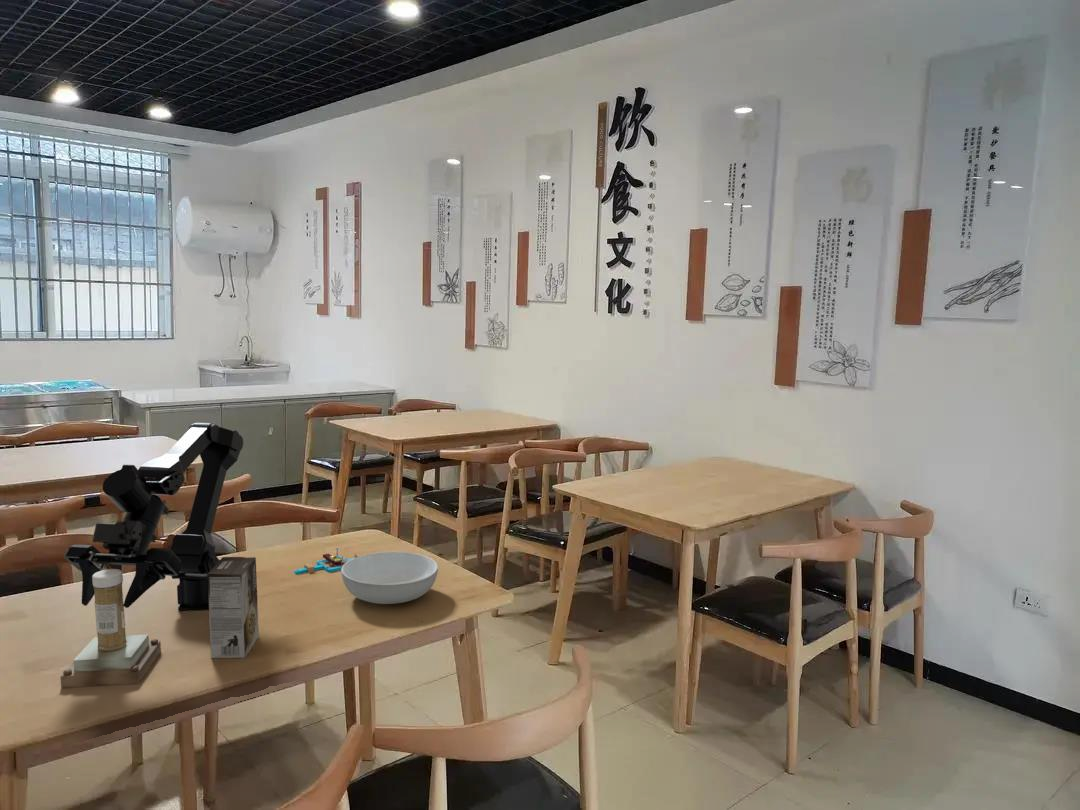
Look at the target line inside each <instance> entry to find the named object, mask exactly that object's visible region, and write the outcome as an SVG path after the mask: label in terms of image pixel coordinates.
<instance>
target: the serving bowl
mask: <svg viewBox="0 0 1080 810" xmlns="http://www.w3.org/2000/svg"><path fill="white" fill-rule="evenodd" d="M362 555H363V556H359V557H356V558H355V557H353V558H354V559H352V558H350V559H351V560H349V561H348V562H346V563H345V564H344V565H343V566H342V565H341V566H342V569H341V570H340V571H341V577H342V578H341V579H342V582H343V584H344V587H345V588H346V590H347V591H348V592H349V593H350V594H351V595H352V596H354V597H355V598H357V599H359V600H361V601H363V602H367V603H371V604H378V605H395V604H401V603H403V604H404V603H406V602H411V601H413V600H416V599H419V598H420V597H423V595H425V594H426V593H427V592H429V591H430V589H432V587H433V586H434V584H435V582H436V580H437V576H438V573H439V564H438V563H437V562H436V561H435V560H434V559H432V558H431V557H429V556H426V555H423V554H420V553H415V552H406V551H380V552H379V551H378V552H373V553H368V554H362Z"/></svg>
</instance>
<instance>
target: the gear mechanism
mask: <svg viewBox="0 0 1080 810" xmlns="http://www.w3.org/2000/svg"><path fill="white" fill-rule="evenodd" d="M335 552H336V554H335V555H336V556H335V555H331V554H330V553H324V554H322V558H324V559H320V560H316V565H315V566H314V565H312V564H311V563H305V564H303V568H300V569H294V571H293V573H294V574H295V575H300V574H305V573H308V574H311V573H314V572H315V571H318V570H319V571H320V570H324V571H326V572H327V573H333V572H334V573H335V572H338V571H341V569H342V566H343V565H344V564H345V563H346V562H348V561H349V560H351V559H354V558H356V557H359V556H363V555H364V554H362V553H355V554H354V557H353V558H348V559H347V558H345V557H344V556H341V555H339V547H338V546H337V547H336V549H335Z"/></svg>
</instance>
